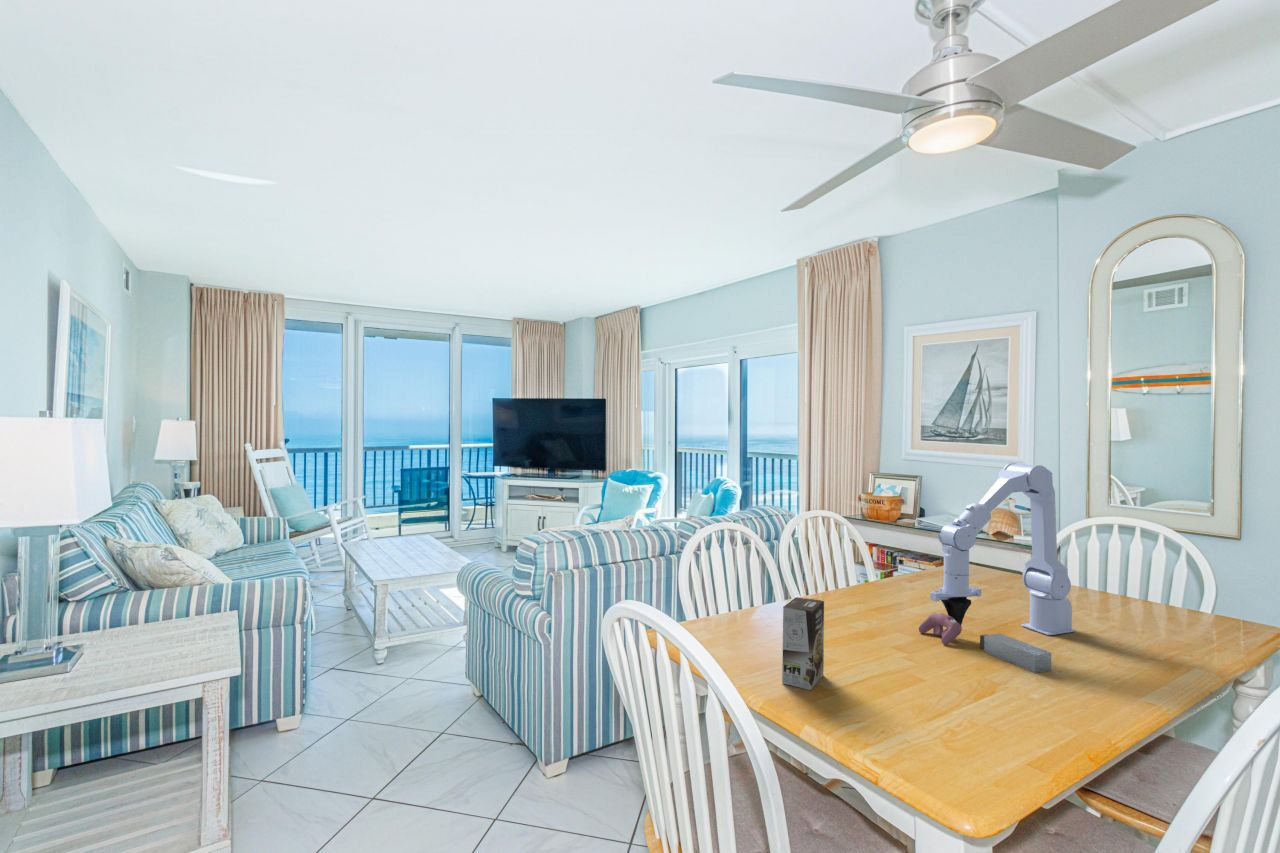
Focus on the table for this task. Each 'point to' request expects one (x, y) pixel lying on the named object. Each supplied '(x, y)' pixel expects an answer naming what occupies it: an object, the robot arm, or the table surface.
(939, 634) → the video game controller
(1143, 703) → the table surface
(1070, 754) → the table surface
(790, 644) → the coffee box
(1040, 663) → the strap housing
